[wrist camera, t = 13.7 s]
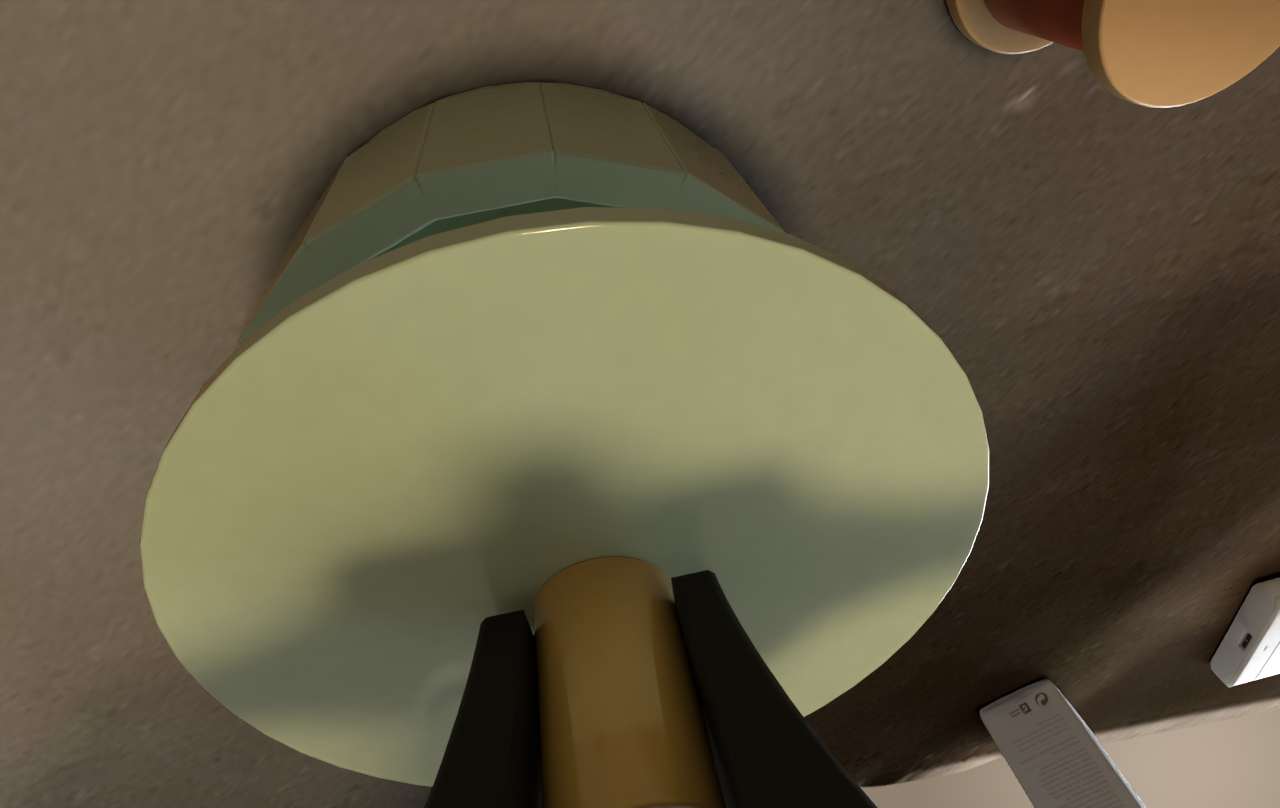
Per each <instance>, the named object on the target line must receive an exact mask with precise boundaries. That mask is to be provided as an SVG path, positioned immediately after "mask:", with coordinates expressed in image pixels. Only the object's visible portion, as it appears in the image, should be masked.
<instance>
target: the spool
mask: <svg viewBox="0 0 1280 808" xmlns="http://www.w3.org/2000/svg"><path fill="white" fill-rule="evenodd" d="M946 3H947V6H948V9H949V12H950V15H951V17H952V19H953V21H954V23H955V25H956V26H957V28H958V29H959V31H960V32H961V33H962V34H963V35H964V36H965V37H966V38H967V39H968V40H970V41H971V42H973V43H974V44H976V45H978V46H980V47H983V48H985V49H988V50H991V51H993V52H998V53H1002V54H1021V53H1027V52H1031V51H1035V50H1038V49H1041V48H1043V47H1046V46H1048V45H1050V44H1052V43H1054V42H1055V43H1058V44H1061V45H1064V46H1068V47H1071V48H1074V49H1077V50H1081V51H1084V54H1085V58H1086V60H1087V63H1088V66H1089V68H1090V70H1091V72H1092V74H1093V75H1094V77H1095V79H1096V80H1097V81H1098V82H1099V83H1100V85H1101V86H1102V87H1103V88H1104V89H1106V90H1107V91H1108V92H1110V93H1111V94H1113V95H1114V96H1117V97H1119V98H1122V99H1124V100H1127V101H1129V102H1132V103H1135V104H1137V105H1141V106H1146V107H1150V108H1168V107H1177V106H1182V105H1186V104H1190V103H1194V102H1196V101H1199V100H1202V99H1204V98H1207V97H1209V96H1211V95H1213V94H1215V93H1217V92H1219V91H1221V90H1223V89H1225V88H1227V87H1228V86H1230V85H1232V84H1233V83H1235V82H1236V81H1238V80H1240V79H1241V78H1242V77H1244V76H1245V75H1246V74H1248V73H1249V72H1251V71H1252V70H1253V69H1255V68H1256V67H1257V66H1258V65H1259V64H1261V63H1262V62H1263V61H1264V60H1265V59H1266V58H1268V57H1269V56H1270V55H1271V54H1272V53H1273V52H1274V51H1275V50H1276V49H1277V48H1278V47H1279V46H1280V0H946Z"/></svg>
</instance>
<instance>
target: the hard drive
mask: <svg viewBox="0 0 1280 808" xmlns="http://www.w3.org/2000/svg"><path fill="white" fill-rule="evenodd" d="M1211 670H1213V671H1214V673H1215V674H1216V675H1217V676H1218V677H1219V678H1220V679H1221V681H1222V682H1223V683H1224V684H1225V685H1226V686H1227V687H1232V686H1235V685H1239V684H1243V683H1246V682H1250V681H1254V680H1258V679H1261V678H1265V677H1269V676H1272V675H1276V674H1280V577H1279V578H1275V579H1271V580H1268V581H1264V582H1261V583H1257V584H1256V585H1254V586H1253V587H1252V588H1251V590H1250V592H1249V594H1248V596H1247V597H1246V599H1245V601H1244V603H1243V605H1242V606H1241V608H1240V610H1239V612H1238V614H1237V615H1236V617H1235V619H1234V621H1233V623H1232V625H1231V626H1230V628H1229V630H1228V632H1227V634H1226V635H1225V637H1224V639H1223V641H1222V642H1221V644H1220V646H1219V648H1218V649H1217V651H1216V653H1215V655H1214V656H1213V658H1212V660H1211Z"/></svg>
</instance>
